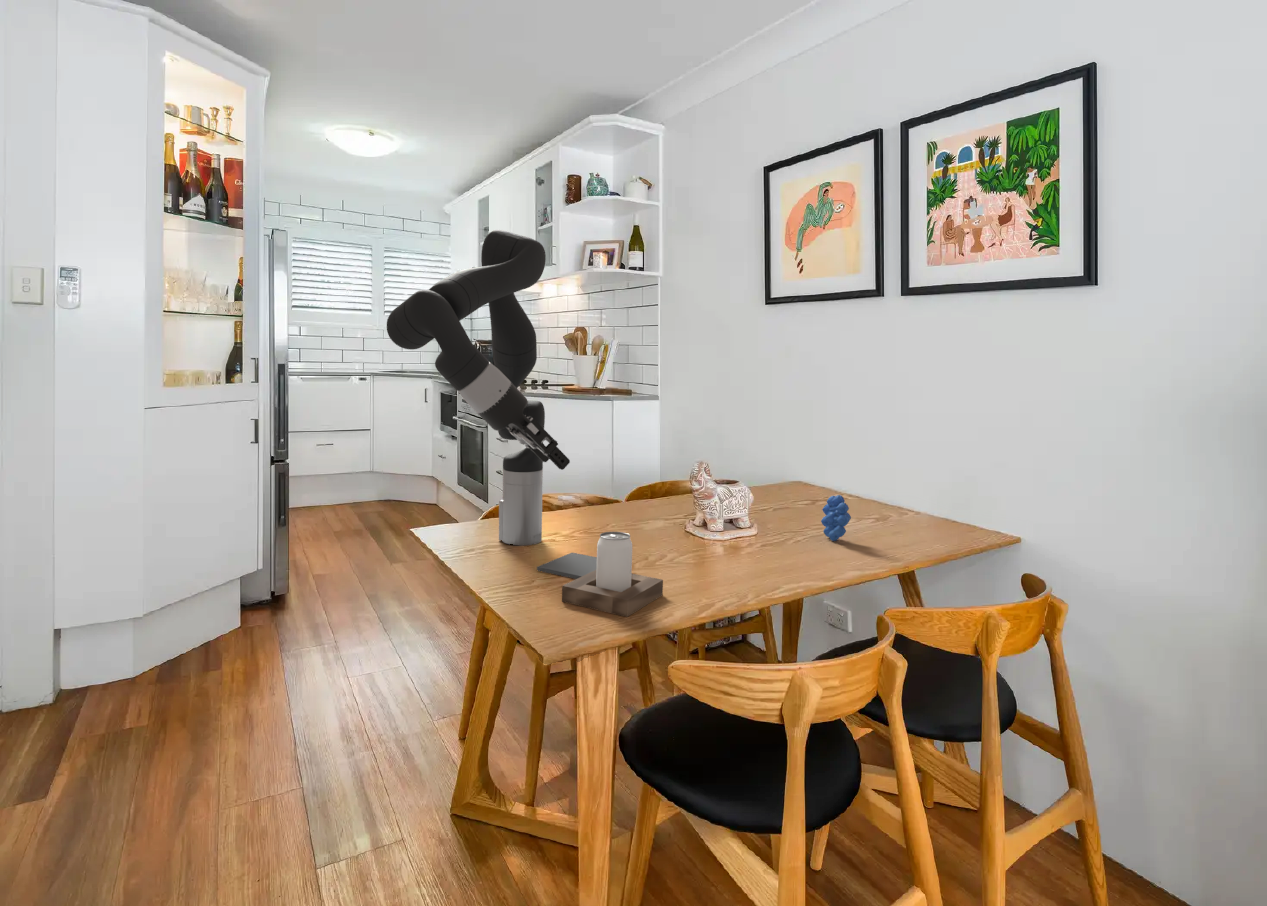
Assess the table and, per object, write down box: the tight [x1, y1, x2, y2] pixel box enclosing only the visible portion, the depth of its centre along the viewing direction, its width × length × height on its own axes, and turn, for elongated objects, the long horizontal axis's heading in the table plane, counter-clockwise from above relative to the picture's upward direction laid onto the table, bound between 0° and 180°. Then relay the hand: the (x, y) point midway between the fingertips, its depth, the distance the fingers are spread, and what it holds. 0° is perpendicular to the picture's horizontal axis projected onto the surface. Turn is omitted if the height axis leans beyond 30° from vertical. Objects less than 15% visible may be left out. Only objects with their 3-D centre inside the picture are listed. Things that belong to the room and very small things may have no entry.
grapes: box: [820, 494, 852, 542], centre depth 180 cm, size 12×7×12 cm, turn 10°
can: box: [596, 531, 633, 592], centre depth 133 cm, size 6×6×12 cm
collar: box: [561, 570, 664, 618], centre depth 134 cm, size 14×14×3 cm
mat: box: [536, 552, 597, 580], centre depth 152 cm, size 13×13×1 cm
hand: (556, 462), depth 125 cm, fingers open, 8 cm apart
